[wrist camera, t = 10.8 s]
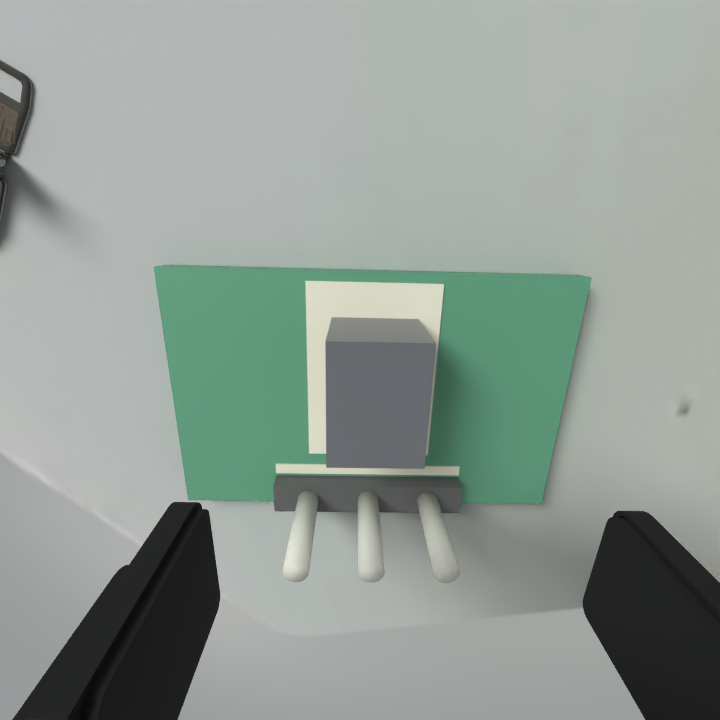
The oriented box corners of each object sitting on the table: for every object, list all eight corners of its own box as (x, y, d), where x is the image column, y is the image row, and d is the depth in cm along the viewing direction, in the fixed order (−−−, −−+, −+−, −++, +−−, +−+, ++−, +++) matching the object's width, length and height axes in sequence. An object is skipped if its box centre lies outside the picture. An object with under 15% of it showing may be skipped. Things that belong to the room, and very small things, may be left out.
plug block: (418, 318, 20) (436, 343, 15) (410, 424, 22) (424, 471, 17) (331, 317, 19) (325, 341, 15) (331, 423, 21) (326, 470, 17)
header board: (578, 274, 20) (691, 296, 13) (532, 491, 25) (600, 590, 18) (165, 264, 20) (65, 282, 13) (196, 487, 24) (134, 587, 17)
